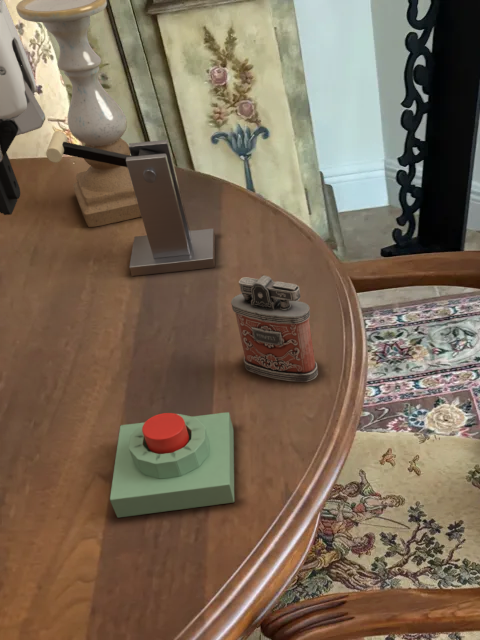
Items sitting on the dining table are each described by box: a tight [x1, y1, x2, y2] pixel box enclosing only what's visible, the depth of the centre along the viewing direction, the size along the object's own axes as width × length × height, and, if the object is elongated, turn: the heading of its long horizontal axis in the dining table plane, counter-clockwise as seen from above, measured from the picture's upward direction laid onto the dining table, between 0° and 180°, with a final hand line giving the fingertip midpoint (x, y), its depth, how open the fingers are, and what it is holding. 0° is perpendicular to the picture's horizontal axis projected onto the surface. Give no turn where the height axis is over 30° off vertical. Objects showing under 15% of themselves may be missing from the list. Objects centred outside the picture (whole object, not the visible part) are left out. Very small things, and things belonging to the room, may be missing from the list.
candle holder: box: [15, 0, 142, 228], centre depth 100 cm, size 11×11×24 cm
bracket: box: [126, 139, 216, 277], centre depth 93 cm, size 10×8×13 cm
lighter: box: [230, 274, 319, 383], centre depth 77 cm, size 8×3×10 cm, turn 70°
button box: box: [109, 411, 235, 519], centre depth 69 cm, size 10×10×4 cm
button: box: [142, 412, 189, 454], centre depth 68 cm, size 4×4×2 cm
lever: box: [45, 130, 160, 167], centre depth 89 cm, size 12×5×2 cm, turn 99°
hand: (4, 207), depth 64 cm, fingers closed
